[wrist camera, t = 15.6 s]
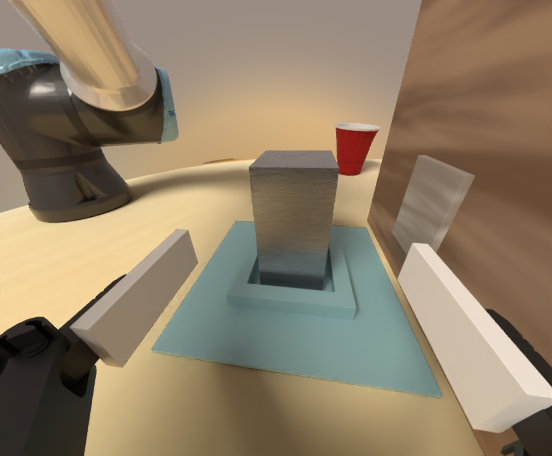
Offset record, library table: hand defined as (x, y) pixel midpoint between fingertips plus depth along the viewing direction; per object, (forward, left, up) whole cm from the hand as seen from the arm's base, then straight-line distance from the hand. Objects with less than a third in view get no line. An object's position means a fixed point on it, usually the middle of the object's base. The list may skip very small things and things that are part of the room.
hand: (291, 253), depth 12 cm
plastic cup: (-42, +24, -8) cm, 50 cm away
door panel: (-4, +14, -8) cm, 16 cm away
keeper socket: (-7, +1, -8) cm, 11 cm away
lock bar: (-7, +1, -8) cm, 10 cm away
